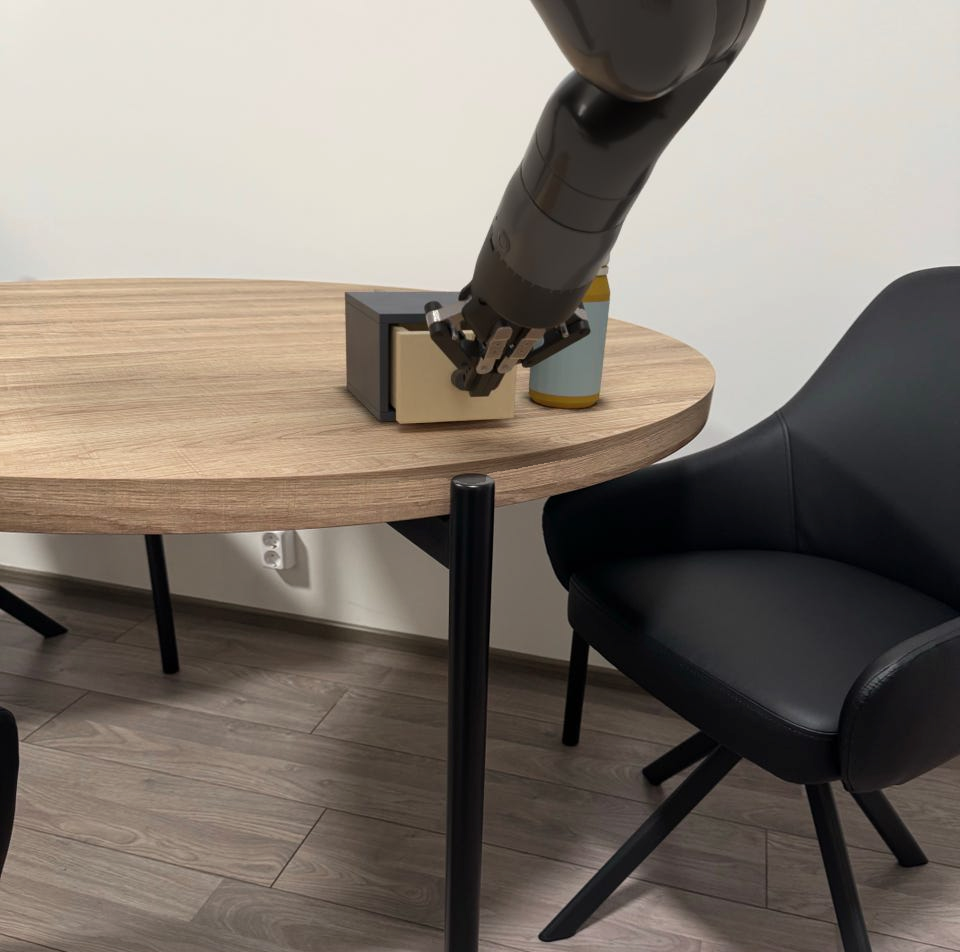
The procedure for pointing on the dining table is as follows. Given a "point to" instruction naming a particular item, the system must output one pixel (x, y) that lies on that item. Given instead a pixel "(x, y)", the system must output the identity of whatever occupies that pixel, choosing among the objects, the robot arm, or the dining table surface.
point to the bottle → (576, 357)
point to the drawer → (437, 381)
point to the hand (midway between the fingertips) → (475, 387)
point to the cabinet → (379, 340)
